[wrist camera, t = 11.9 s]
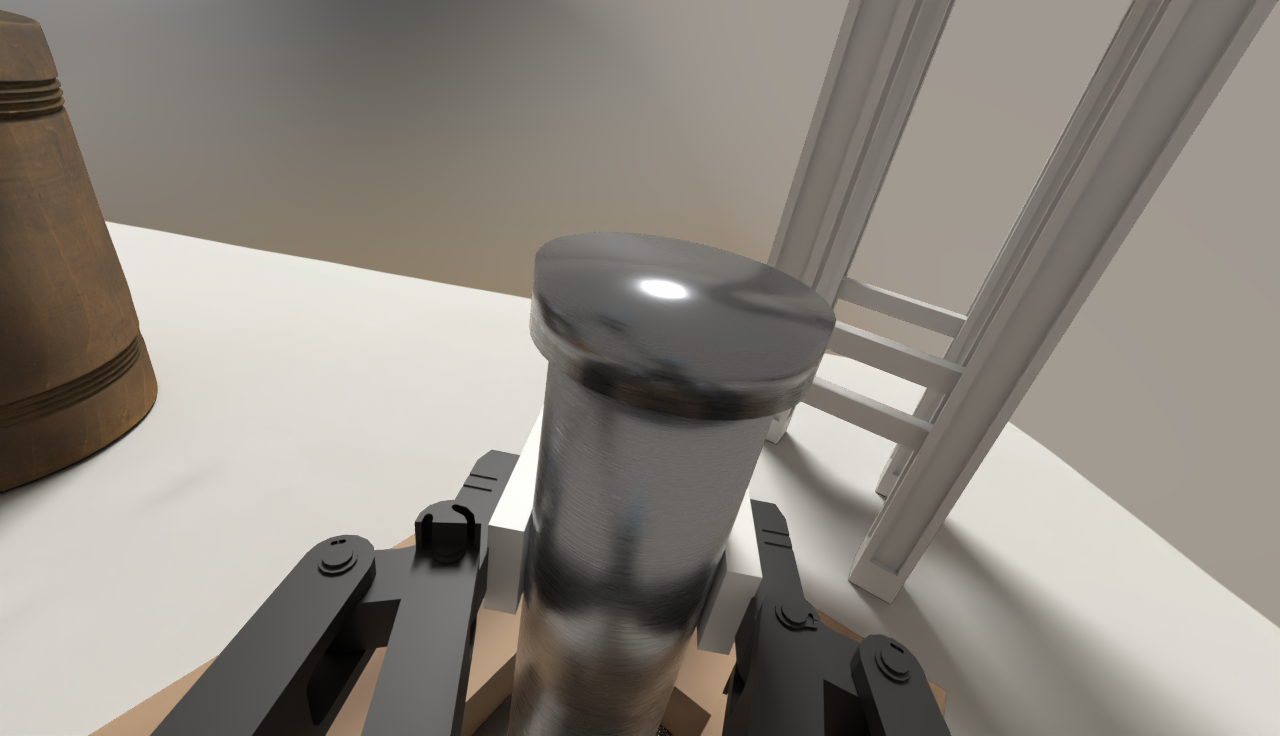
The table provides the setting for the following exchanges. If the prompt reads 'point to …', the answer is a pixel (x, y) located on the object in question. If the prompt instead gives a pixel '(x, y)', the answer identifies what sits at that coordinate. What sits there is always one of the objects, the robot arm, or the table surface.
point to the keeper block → (499, 684)
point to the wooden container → (57, 282)
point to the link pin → (644, 461)
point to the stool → (1029, 258)
